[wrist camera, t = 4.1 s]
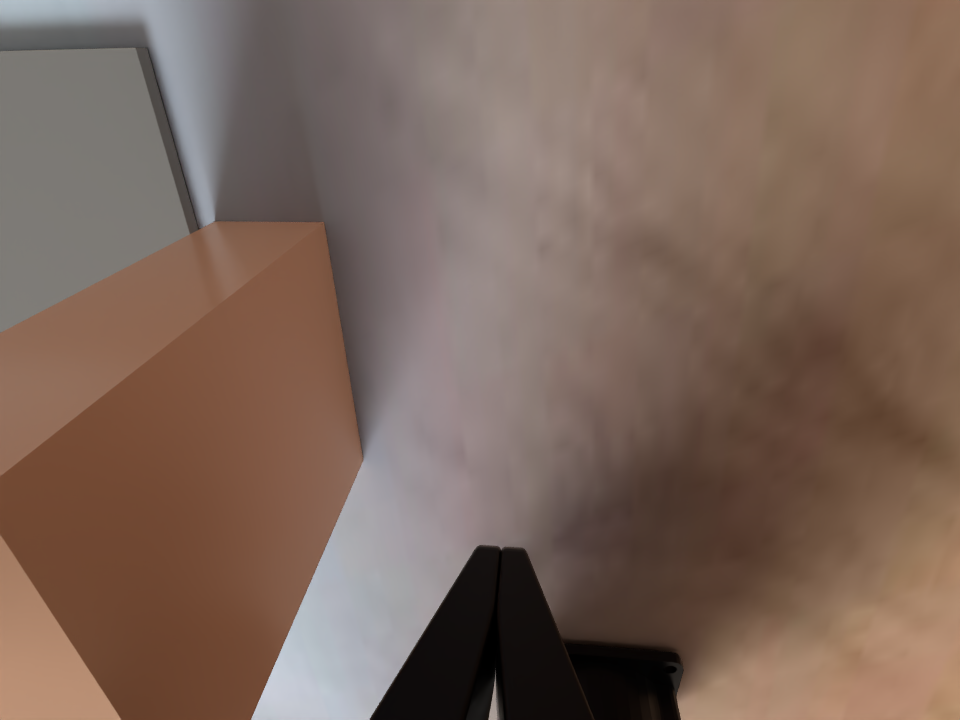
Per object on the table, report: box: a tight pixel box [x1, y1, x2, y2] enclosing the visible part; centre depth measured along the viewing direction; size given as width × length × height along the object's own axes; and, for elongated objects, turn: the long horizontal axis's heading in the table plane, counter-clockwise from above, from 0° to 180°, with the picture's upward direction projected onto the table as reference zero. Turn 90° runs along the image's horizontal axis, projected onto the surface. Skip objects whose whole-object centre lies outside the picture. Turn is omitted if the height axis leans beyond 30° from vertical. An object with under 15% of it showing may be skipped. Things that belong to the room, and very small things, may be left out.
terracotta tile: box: [0, 221, 363, 720], centre depth 12 cm, size 3×8×10 cm, turn 1°
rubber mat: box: [0, 48, 198, 333], centre depth 17 cm, size 15×16×1 cm
